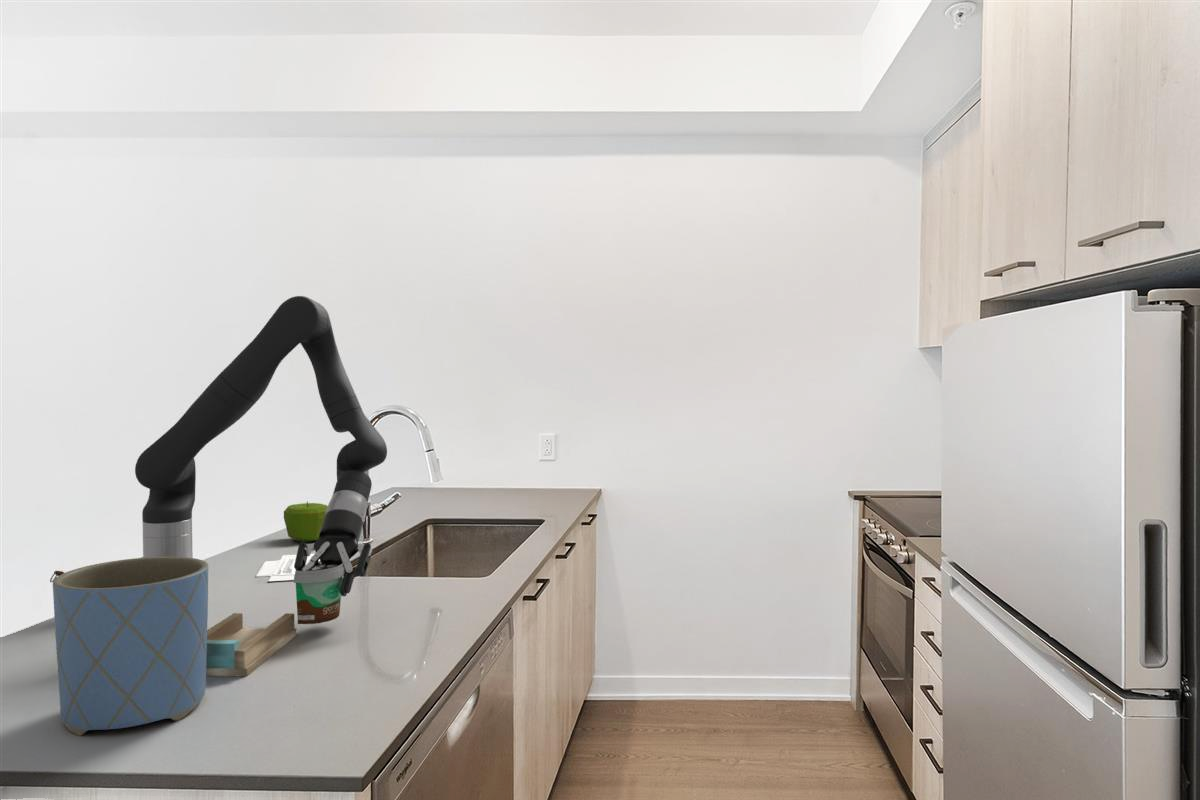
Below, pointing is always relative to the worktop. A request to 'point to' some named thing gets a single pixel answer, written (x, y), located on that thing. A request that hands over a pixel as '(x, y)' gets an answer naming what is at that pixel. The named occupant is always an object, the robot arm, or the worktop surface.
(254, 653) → the channel board
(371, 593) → the worktop surface
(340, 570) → the food container
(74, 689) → the planter
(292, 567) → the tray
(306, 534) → the apple
